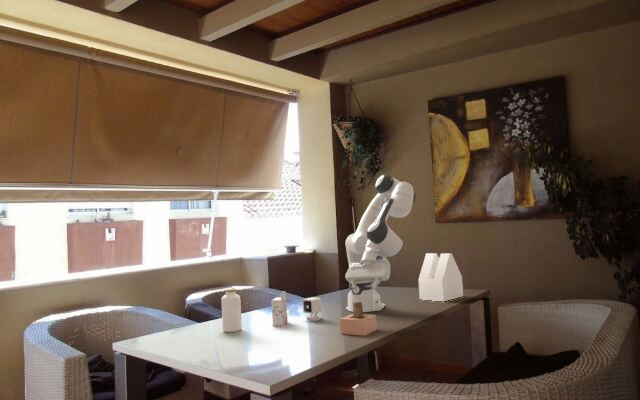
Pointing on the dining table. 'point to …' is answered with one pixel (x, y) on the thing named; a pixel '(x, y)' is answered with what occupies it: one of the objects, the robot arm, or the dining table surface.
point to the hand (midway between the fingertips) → (363, 288)
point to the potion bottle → (231, 311)
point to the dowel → (357, 310)
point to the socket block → (358, 325)
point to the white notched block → (440, 278)
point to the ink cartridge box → (279, 310)
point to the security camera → (312, 308)
